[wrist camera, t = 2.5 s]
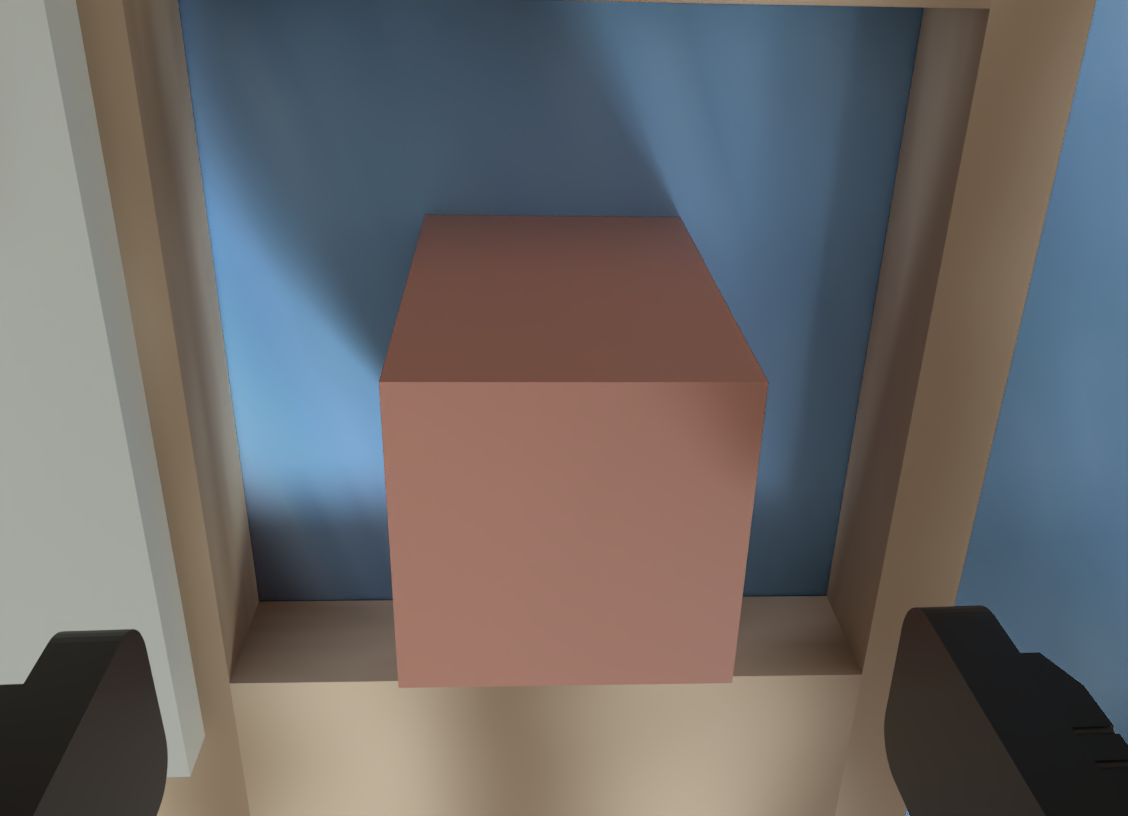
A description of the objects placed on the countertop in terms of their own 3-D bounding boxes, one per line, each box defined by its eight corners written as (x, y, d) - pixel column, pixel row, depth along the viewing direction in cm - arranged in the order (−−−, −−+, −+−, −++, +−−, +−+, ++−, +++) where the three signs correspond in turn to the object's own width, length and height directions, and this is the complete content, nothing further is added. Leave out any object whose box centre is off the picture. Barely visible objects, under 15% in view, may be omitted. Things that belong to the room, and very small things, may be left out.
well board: (1092, -383, 15) (1198, -435, 12) (860, 767, 24) (895, 855, 22) (-868, -460, 13) (-1148, -534, 11) (-283, 789, 23) (-369, 885, 21)
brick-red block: (679, 216, 18) (768, 382, 12) (663, 441, 20) (731, 683, 14) (425, 214, 18) (378, 382, 12) (434, 441, 20) (398, 687, 14)
